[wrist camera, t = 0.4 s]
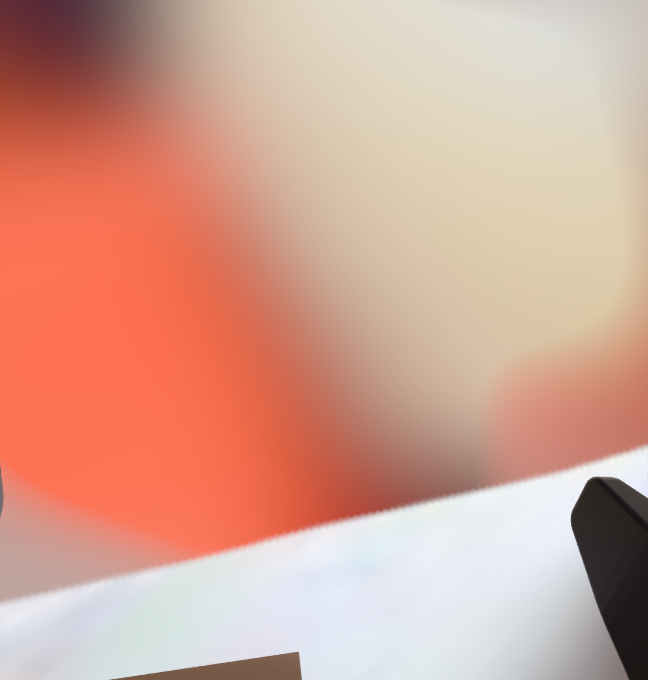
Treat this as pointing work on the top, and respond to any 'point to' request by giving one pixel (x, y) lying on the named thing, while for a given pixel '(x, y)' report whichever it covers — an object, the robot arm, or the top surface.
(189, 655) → the top surface
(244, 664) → the square wooden frame
